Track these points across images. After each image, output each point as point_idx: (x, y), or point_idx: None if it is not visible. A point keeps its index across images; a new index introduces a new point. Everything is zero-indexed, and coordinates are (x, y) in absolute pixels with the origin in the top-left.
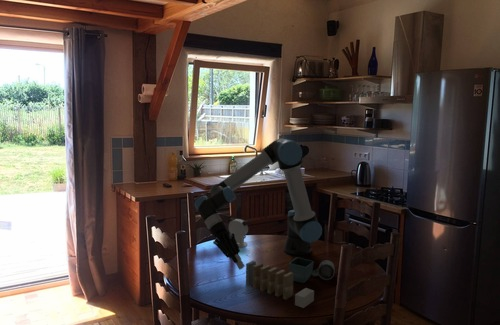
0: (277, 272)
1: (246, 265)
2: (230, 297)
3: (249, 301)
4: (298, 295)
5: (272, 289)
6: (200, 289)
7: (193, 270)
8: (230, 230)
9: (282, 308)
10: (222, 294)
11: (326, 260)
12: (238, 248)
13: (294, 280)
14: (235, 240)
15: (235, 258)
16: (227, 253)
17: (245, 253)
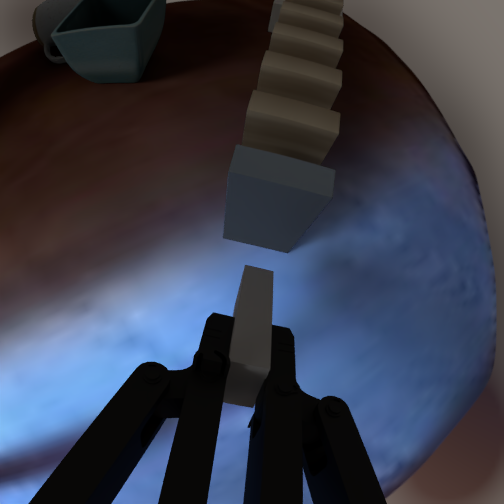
0: (329, 20)
1: (327, 200)
2: (431, 258)
3: (410, 173)
4: (341, 15)
5: None
6: (431, 423)
7: None
8: None
9: (374, 73)
10: (429, 306)
11: (46, 2)
12: (132, 392)
13: (141, 76)
14: (48, 490)
15: (277, 353)
16: (351, 434)
17: None
